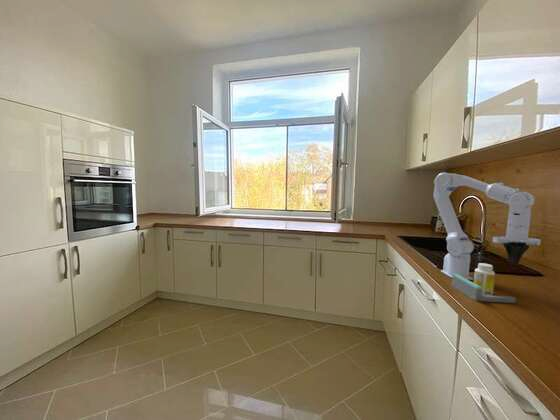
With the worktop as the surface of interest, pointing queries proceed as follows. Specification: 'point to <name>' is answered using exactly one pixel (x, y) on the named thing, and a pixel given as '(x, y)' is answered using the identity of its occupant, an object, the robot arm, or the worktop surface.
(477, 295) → the bay
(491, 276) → the supplement bottle
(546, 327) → the worktop surface
